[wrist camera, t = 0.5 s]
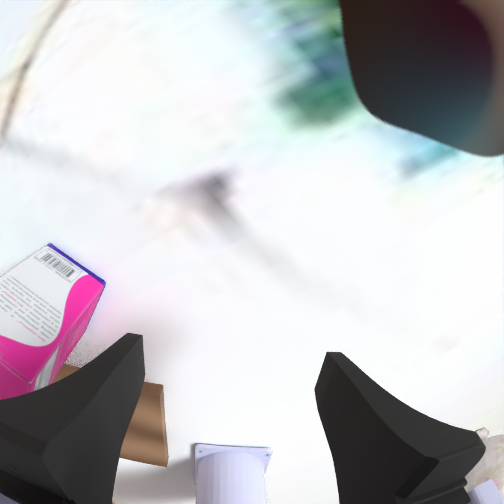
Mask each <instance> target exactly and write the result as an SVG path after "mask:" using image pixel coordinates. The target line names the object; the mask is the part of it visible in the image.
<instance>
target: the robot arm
mask: <svg viewBox="0 0 504 504" xmlns="http://www.w3.org/2000/svg"><path fill="white" fill-rule="evenodd" d="M144 378H145V367H144V353H143V336H142V335H138V334H132V333H127V334H125V335H124V336H123V337H122V338H120V339H119V340H118V341H117V342H115V343H114V344H113V345H112V346H110V347H109V348H108V349H107V350H105V351H104V352H103V353H101V354H100V355H99V356H97V357H96V358H95V359H93V360H92V361H91V362H89V363H88V364H86V365H85V366H83V367H82V368H80V369H79V370H77V371H75V372H74V373H72V374H70V375H69V376H67V377H65V378H63V379H61V380H59V381H57V382H55V383H53V384H50V385H48V386H45V387H43V388H41V389H38V390H36V391H33V392H30V393H26V394H23V395H19V396H16V397H12V398H7V399H1V400H0V504H112V496H113V489H114V482H115V477H116V471H117V466H118V461H119V456H120V452H121V447H122V444H123V441H124V438H125V435H126V432H127V429H128V427H129V424H130V421H131V419H132V416H133V414H134V411H135V408H136V406H137V403H138V400H139V398H140V394H141V390H142V386H143V382H144ZM315 396H316V403H317V408H318V412H319V416H320V419H321V422H322V425H323V428H324V431H325V434H326V438H327V441H328V444H329V447H330V450H331V453H332V457H333V461H334V467H335V473H336V479H337V486H338V493H339V503H340V504H504V499H503V497H502V495H501V494H500V492H499V490H498V489H497V487H496V485H495V484H494V482H493V480H492V479H489V480H487V481H485V482H483V483H481V484H479V485H477V486H475V487H473V488H472V489H470V490H469V491H467V492H466V490H465V488H464V487H465V486H466V485H467V483H468V482H467V480H466V479H465V476H466V475H467V474H468V473H469V472H470V471H471V470H472V469H473V468H474V467H475V466H476V464H477V463H478V462H479V461H480V460H481V458H482V457H483V455H484V454H485V451H486V446H485V444H484V443H483V441H482V440H481V438H480V437H479V435H478V434H477V433H476V432H474V431H470V430H466V429H462V428H458V427H454V426H451V425H448V424H446V423H443V422H440V421H438V420H435V419H433V418H431V417H429V416H427V415H425V414H423V413H420V412H418V411H417V410H415V409H413V408H411V407H410V406H408V405H406V404H405V403H403V402H401V401H400V400H398V399H397V398H395V397H394V396H393V395H391V394H390V393H389V392H387V391H386V390H385V389H383V388H382V387H381V386H379V385H378V384H377V383H376V382H375V381H373V380H372V379H371V378H370V377H369V376H368V375H366V374H365V373H364V372H363V371H362V370H361V369H360V368H358V367H357V366H356V365H355V364H354V363H353V362H352V361H351V360H350V359H348V358H347V357H346V356H345V355H344V354H342V353H341V352H327V353H326V356H325V359H324V362H323V365H322V368H321V371H320V374H319V377H318V380H317V383H316V386H315ZM271 455H272V449H271V448H251V447H231V446H217V445H206V444H197V445H195V484H196V485H197V491H196V504H267V494H266V484H265V472H266V469H267V466H268V464H269V461H270V458H271Z"/></svg>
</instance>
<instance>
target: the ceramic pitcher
mask: <svg viewBox="0 0 504 504" xmlns="http://www.w3.org/2000/svg"><path fill="white" fill-rule="evenodd" d="M476 433H477V434H478V435H479V437H480V438H481V440H482V441H483V443H484V444H485V446H486V451H485V454H484V455H483V457H482V458H481V460H480V461H479V462H478V463H477V464H476V466H475V467H474V468H473V469H472V470H471V471H470V472H469V473H468V474H467V475H466V476H465V479H466V480H467V482H468V483H467V485H466V486H465V487H464V488H465V490H466V492H467V491H469V490H470V489H472V488H473V487H475V486H477V485H479V484H481V483H483V482H485V481H487V480H489V479H492V480H493V482H494V484H495V485H496V487H497V489H498V490H499V492H500V494H501V495H502V497H503V499H504V435H496V436H494V437H490V438H488V439H487V435H488V433H489V432H488V430H487V429H486V428H482V429H480V430H478V431H476Z"/></svg>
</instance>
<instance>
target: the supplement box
mask: <svg viewBox="0 0 504 504" xmlns="http://www.w3.org/2000/svg"><path fill="white" fill-rule="evenodd" d="M105 285H106V282H105V281H104V280H103V279H101V278H100V277H98V276H96V275H95V274H94V273H92V272H91V271H89V270H88V269H86V268H85V267H84V266H82V265H80V264H79V263H78V262H76V261H75V260H73V259H72V258H70V257H69V256H68V255H66V254H65V253H63V252H62V251H61V250H59V249H58V248H57V247H55V246H54V245H53V244H51V243H49V244H48V245H47V246H45V247H43V248H42V249H40V250H39V251H37V252H36V253H34V254H33V255H31V256H30V257H28V258H27V259H25V260H24V261H22V262H21V263H19V264H18V265H16V266H15V267H14V268H12V269H11V270H9V271H8V272H7V273H5V274H4V275H3V276H1V277H0V400H1V399H7V398H12V397H16V396H19V395H23V394H26V393H30V392H33V391H36V390H38V389H41V388H43V387H45V386H48V385H50V384H51V383H52V381H53V379H54V378H55V376H56V374H57V373H58V371H59V370H60V368H61V367H62V365H63V364H64V362H65V361H66V359H67V358H68V356H69V355H70V353H71V352H72V350H73V349H74V347H75V346H76V344H77V343H78V341H79V340H80V338H81V337H82V335H83V334H84V333H85V330H86V328H87V326H88V323H89V321H90V319H91V317H92V314H93V312H94V310H95V308H96V306H97V303H98V301H99V299H100V297H101V294H102V292H103V290H104V288H105Z"/></svg>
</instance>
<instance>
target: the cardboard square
mask: <svg viewBox="0 0 504 504" xmlns="http://www.w3.org/2000/svg"><path fill="white" fill-rule="evenodd" d="M79 369H80V368H78V367H74V366H70V365H66V364H63V365H62V367H61V368H60V370H59V371H58V373H57V374H56V376H55V378H54V379H53V381H52V383H51V384H53V383H55V382H57V381H59V380H61V379H63V378H65V377H67V376H69V375H70V374H72V373H74V372H75V371H77V370H79ZM168 457H169V456H168V447H167V436H166V424H165V410H164V393H163V385H160V384H154V383H148V382H143V386H142V390H141V394H140V398H139V400H138V403H137V406H136V408H135V411H134V414H133V416H132V419H131V421H130V424H129V427H128V429H127V432H126V435H125V438H124V441H123V444H122V447H121V452H120V456H119V458H124V459H128V460H132V461H137V462H142V463H147V464H152V465H158V466H164V467H167V463H168Z"/></svg>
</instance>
